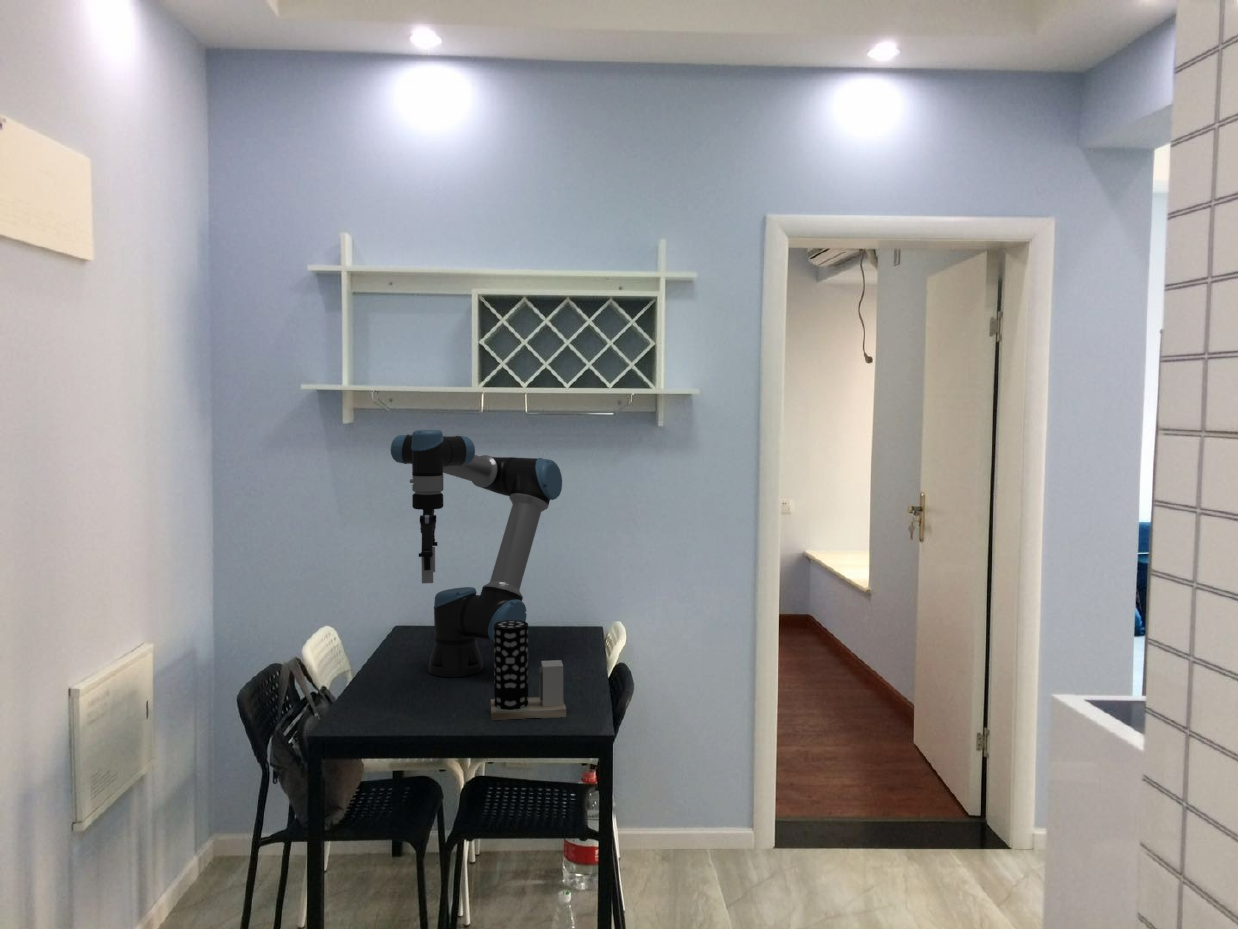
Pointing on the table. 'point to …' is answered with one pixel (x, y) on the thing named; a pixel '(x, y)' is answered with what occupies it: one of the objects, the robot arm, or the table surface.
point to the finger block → (551, 683)
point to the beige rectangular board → (528, 711)
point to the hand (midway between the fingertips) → (428, 577)
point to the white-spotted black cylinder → (511, 664)
